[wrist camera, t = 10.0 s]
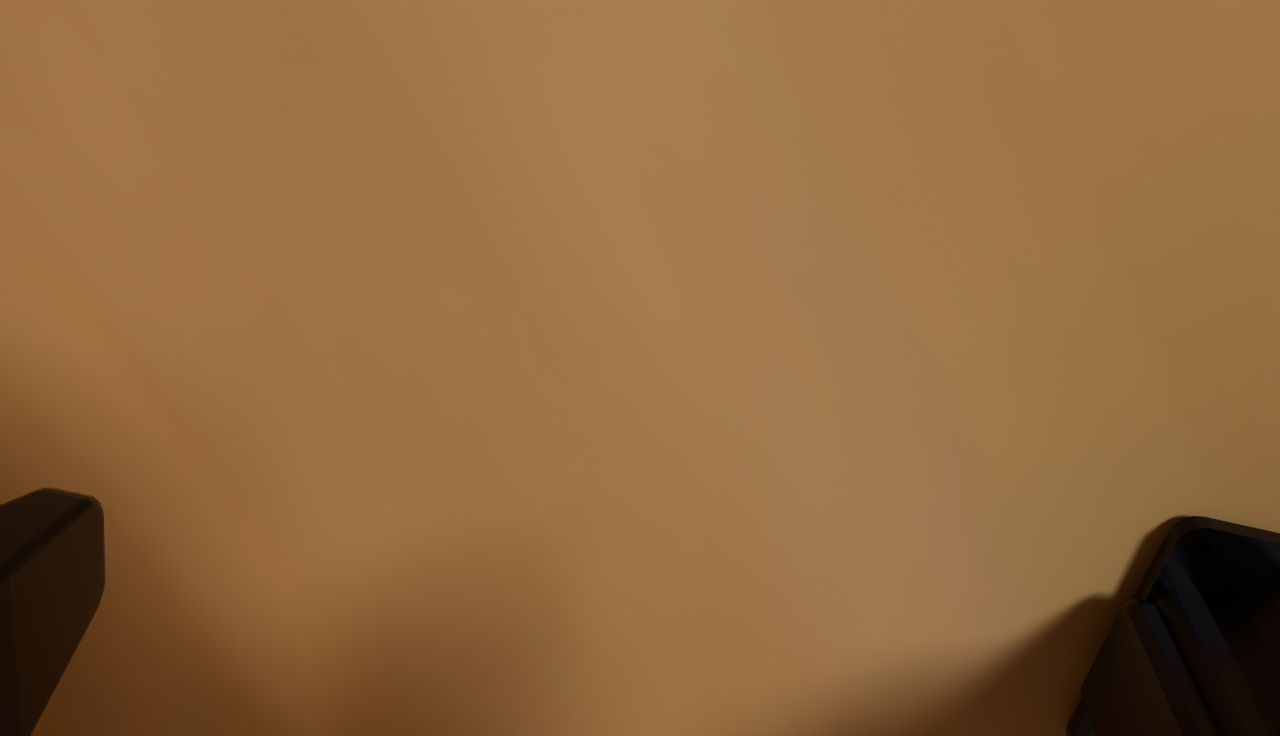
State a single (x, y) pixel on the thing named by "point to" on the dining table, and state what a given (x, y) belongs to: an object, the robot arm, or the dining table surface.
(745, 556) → the dining table surface
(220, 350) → the dining table surface
